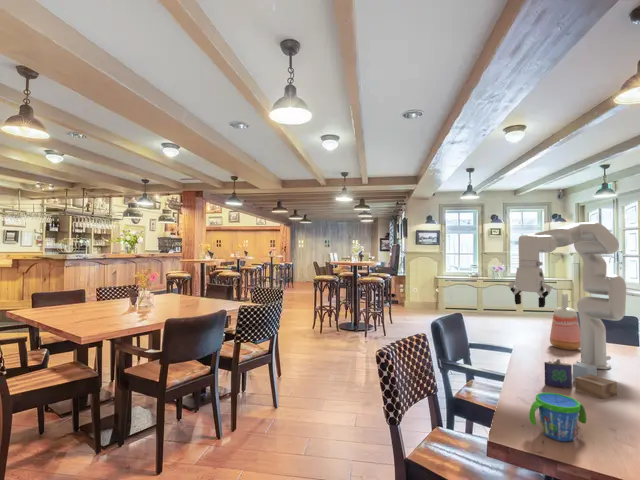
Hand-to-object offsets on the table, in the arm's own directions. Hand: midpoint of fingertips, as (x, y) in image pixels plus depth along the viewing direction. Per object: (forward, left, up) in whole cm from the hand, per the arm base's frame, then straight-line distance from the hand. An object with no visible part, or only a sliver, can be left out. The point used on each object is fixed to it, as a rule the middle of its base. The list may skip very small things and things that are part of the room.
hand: (529, 305), depth 149 cm
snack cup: (+36, +36, -30) cm, 59 cm away
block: (-9, +20, -30) cm, 37 cm away
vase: (-63, -26, -30) cm, 74 cm away
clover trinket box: (-2, +11, -30) cm, 32 cm away
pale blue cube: (-16, +12, -30) cm, 36 cm away
